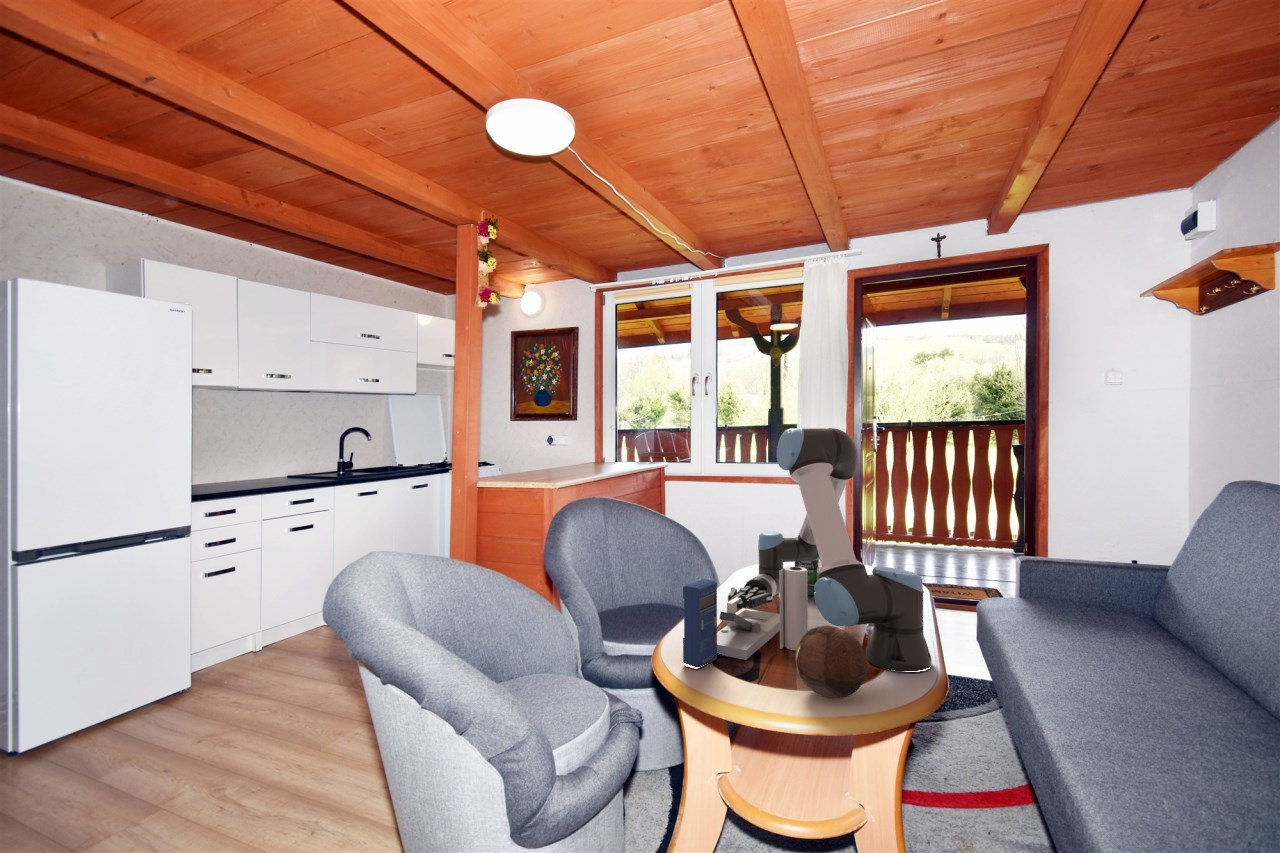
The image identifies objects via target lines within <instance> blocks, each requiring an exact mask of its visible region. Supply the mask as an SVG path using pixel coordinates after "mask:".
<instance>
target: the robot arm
mask: <svg viewBox="0 0 1280 853" xmlns="http://www.w3.org/2000/svg"><path fill="white" fill-rule="evenodd" d="M858 455H859V454H858V449H857V446H856V444H855V441H854V440H853V438H852V437H851V436H850V435H849V434H848V433H846V432H845V431H843V430H841V429H838V428H835V427H829V428H826V427H825V428H824V427H823V428H814V427H813V428H810V427H809V428H806V427H798V428H788V429H786V430H784V431H783V433H782V434H781V436H780V437H779V440H778V443H777V447H776V460H777V464H778V466H779V468H780V469H782V470H784V471H787V472H788V471H789V475H790V479H791V480H792V481H793V482H795V483H797V484H798V487H799V490H800V494H801V497H802V502H803V505H804V508H805V511H806V515H805V517H804V520H803V522H802V525H801V528H800V531H799V533H798V536H796V537H784V535H783V534H782V533H781V532H777V531H763V532H761V533H760V534H759V536H758V548H757V550H758V575H756V576H755V577H754V576H753V578H751V579H749V580H748V581H746V583H745V584H744V586H743V587H741V588H739V589H737V588H735V587H731V588H730V592H729V593H728V595H727V602H726V612H727V613H734V614H735V613H736V612H738V611H739V610H741V609H742V608H744V609H747V607H748V609H754V608H756V607H760V606H763V605H765V604H769V603H773V597H774V596H776V595H779V570H782V569H783V568H784V563H795V562H796V561H815V560H819V561H820V565H821V569H820V570H819V573H818V576H819V580H818V581H817V582H816V583H815V586H814V590H815V593H814V596H813V597H814V601H815V605H816V608H817V610H818V611H819V613H820V615H821V616H822V618H824V620H825V621H827V622H828V623H829V624H831V625H832V626H837V627H854V626H858V625H871V624H873V629H872V631H871V634H870V638H869V641H868V645H867V646H866V650H865V651H866V652H865V655H866V659H867V662H868V663H870V664H872V665H873V666H876V667H878V668H881V669H883V670H887V671H891V670H895V671H894V672H896V671H918V670H923V669H926V668H929V667H930V666H931V664H932V665H933V663H932V655H931V653H930V651H929V646H928V642H927V640H926V637H925V634H924V594H925V591H924V588H923V586H924V584H923V579H922V577H921V576H920V575H919V574H917V573H916V572H913V571H909V570H907V569H906V570H905V569H900V568H895V567H888V566H874V567H873V568H872V570H871V573H872V574H868V572H867V570H866V569H867V568H866V567H865V564H864V563H862V562H861V561H860V560H858V559H857V557H856V555H855V552H854V549H853V546H852V543H851V539H850V535H849V533H848V530H847V526H846V523H845V520H844V517H843V513H842V510H841V507H840V500H841V497H842V495H843V493H844V490H845V488H846V485H847V483H848V481H850V480H852V479H853V478H854V476H855V473H856V470H857V467H858V461H859V456H858Z"/></svg>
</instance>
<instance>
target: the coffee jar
mask: <svg viewBox="0 0 1280 853" xmlns="http://www.w3.org/2000/svg"><path fill="white" fill-rule="evenodd" d="M819 561H820V560H815V561H796V562H794V567H802V568H806V569H807V595H814V593H815V590H814V586H815V583H816V582H817V581H818V580H819V576H818V573H819V572H820V570H819Z"/></svg>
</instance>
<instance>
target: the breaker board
mask: <svg viewBox="0 0 1280 853" xmlns="http://www.w3.org/2000/svg"><path fill="white" fill-rule="evenodd" d="M734 614H736V615H738V616H740V617H741V618H743V619H745V620H746V621H748V622H750V623H752V630H751V631H747V630H742V629H737V628H735V627H733V626H731V625H729V624H728V623H727V625H726V626H724V627H722V628H721V629H720V630H717V653H719V654H722V655H721V656H724V657H730V658H735V659H740V660H745V661H747V660H748V659H749V658H751V656H753V654H754V653H756V652H757V651H758V650H760V649H761V647H763V646H764V645H765V644H766V643H767V642H768V641H769V640H771V639H772V638H773V637H774V636H775V635H776V634H778V633H780V613H776V612H769V611H763V610H757V609H752V608H742V609H739V610H737V611H736V612H734ZM719 654H718V655H719Z"/></svg>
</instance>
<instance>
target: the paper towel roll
mask: <svg viewBox="0 0 1280 853" xmlns="http://www.w3.org/2000/svg"><path fill="white" fill-rule="evenodd" d="M778 595H779V614H780V631H779V650H782V649H783V648H784V647H785V648H786V649H788V650H791V651H795V652H796V649H797V646H798V643H799V641H800V640H801V638H802V637H803V636H804V635H805V634H806V633H807V632H808V631H809V627H808V623H809V622H808V619H809V618H808V616H809V614H808V611H809V610H808V606H809V605H808V598H809V597H808V595H807V569H806V568H802V567H795V566H786V567H783V569H782V570H779V593H778Z"/></svg>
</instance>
